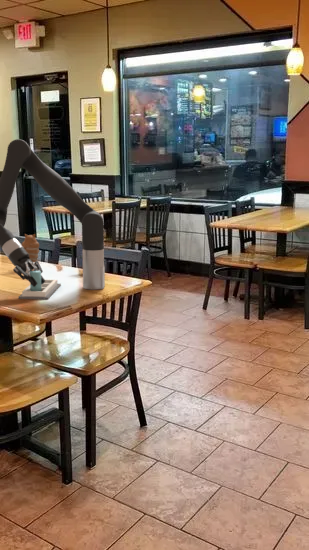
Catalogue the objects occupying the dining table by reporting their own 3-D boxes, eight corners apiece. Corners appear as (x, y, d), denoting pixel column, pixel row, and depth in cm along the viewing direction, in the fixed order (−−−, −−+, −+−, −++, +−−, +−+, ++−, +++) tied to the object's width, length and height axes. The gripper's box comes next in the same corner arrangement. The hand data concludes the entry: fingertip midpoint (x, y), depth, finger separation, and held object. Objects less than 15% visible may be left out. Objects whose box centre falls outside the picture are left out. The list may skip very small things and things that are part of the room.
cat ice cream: (21, 269, 272) (20, 234, 268) (24, 267, 279) (22, 232, 276) (39, 269, 273) (38, 234, 269) (41, 266, 280) (40, 232, 276)
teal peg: (42, 292, 221) (42, 270, 219) (40, 294, 217) (39, 272, 215) (32, 291, 221) (31, 270, 219) (29, 294, 217) (28, 272, 215)
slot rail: (60, 285, 239) (60, 279, 238) (48, 299, 214) (47, 292, 214) (34, 284, 239) (34, 278, 238) (18, 298, 214) (18, 292, 214)
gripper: (8, 248, 212) (33, 281, 209) (31, 244, 225) (55, 275, 222) (-2, 260, 216) (23, 293, 213) (22, 255, 228) (45, 286, 225)
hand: (39, 283), depth 217 cm, fingers closed on teal peg, 4 cm apart
